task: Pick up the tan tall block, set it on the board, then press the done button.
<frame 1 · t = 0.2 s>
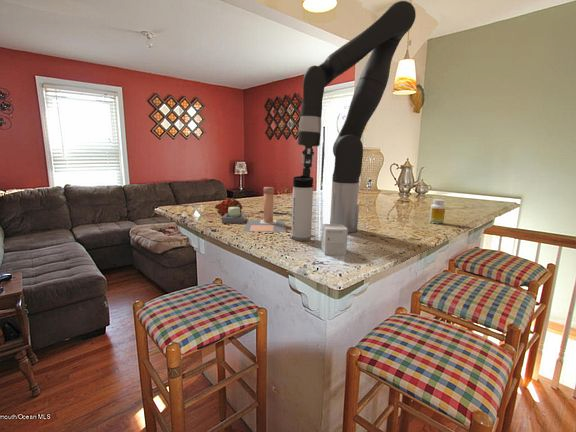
hand: (305, 179, 107), 18 cm above the countertop, tool pointing down, fingers open, 8 cm apart
button housing: (234, 223, 118), on the countertop
tan tall block: (268, 221, 117), point 1 cm above the countertop, touching board
board: (265, 228, 111), on the countertop
product box: (333, 252, 87), on the countertop
supplement bottle: (436, 223, 127), on the countertop
dragon fruit: (228, 216, 130), on the countertop
done button: (234, 213, 117), point 4 cm above the countertop, slide at 0.0 cm
travel mug: (301, 239, 99), on the countertop
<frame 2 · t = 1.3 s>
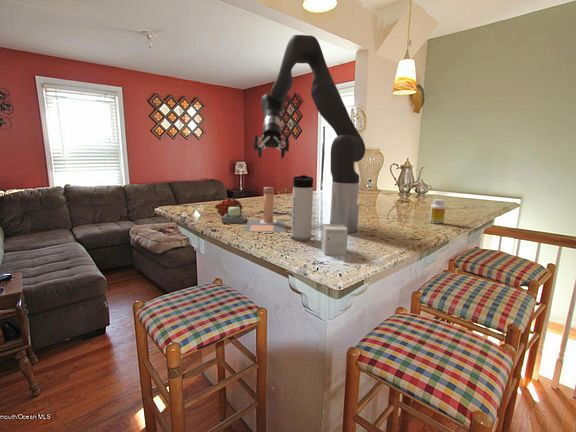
hand: (271, 156, 123), 25 cm above the countertop, tool tilted 45°, fingers open, 8 cm apart
nothing on the countertop moved.
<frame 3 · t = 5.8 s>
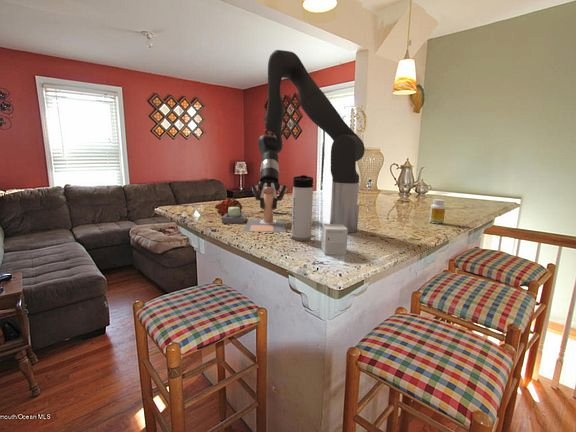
hand: (268, 208, 114), 7 cm above the countertop, tool tilted 45°, fingers closed on tan tall block, 3 cm apart
tan tall block: (268, 221, 117), point 1 cm above the countertop, touching board, gripper
everything else where it was.
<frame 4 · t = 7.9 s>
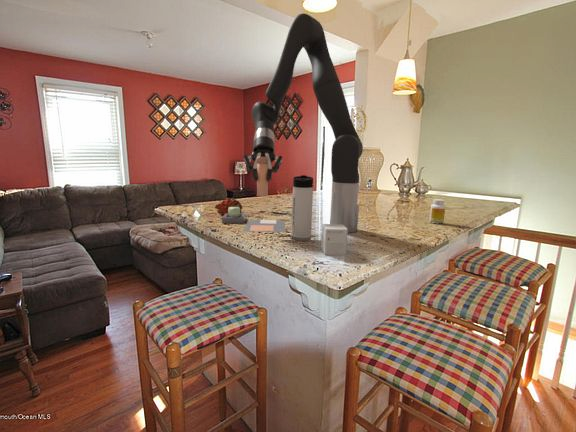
hand: (262, 179, 102), 18 cm above the countertop, tool tilted 45°, fingers closed on tan tall block, 3 cm apart
tan tall block: (262, 195, 105), point 12 cm above the countertop, touching gripper
everything else where it was.
when the fingers open (8 cm above the countertop, at t = 10.1 s): tan tall block drops 1 cm, resting on board.
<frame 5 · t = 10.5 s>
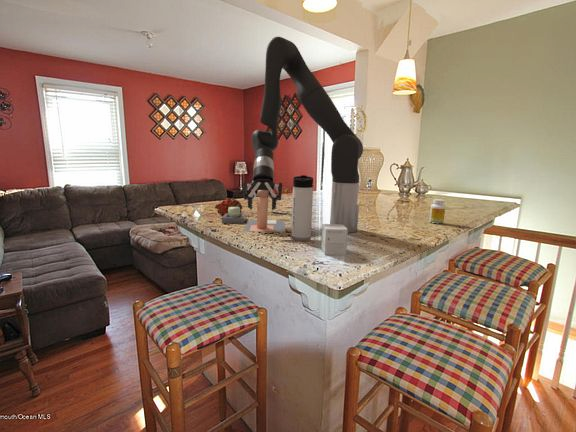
hand: (261, 208, 104), 8 cm above the countertop, tool tilted 45°, fingers open, 7 cm apart
tan tall block: (261, 227, 107), point 1 cm above the countertop, touching board
everything else where it was.
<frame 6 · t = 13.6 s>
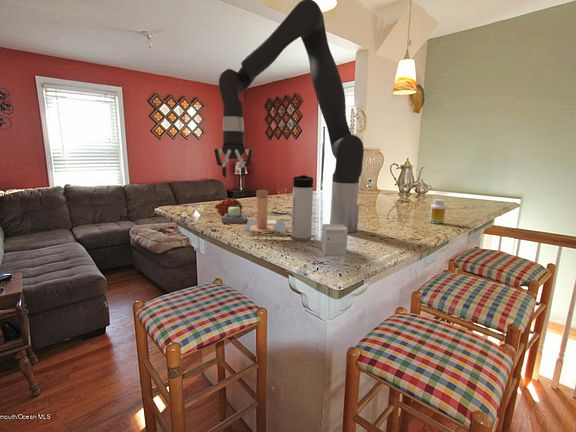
hand: (234, 177, 114), 17 cm above the countertop, tool pointing down, fingers open, 5 cm apart
nothing on the countertop moved.
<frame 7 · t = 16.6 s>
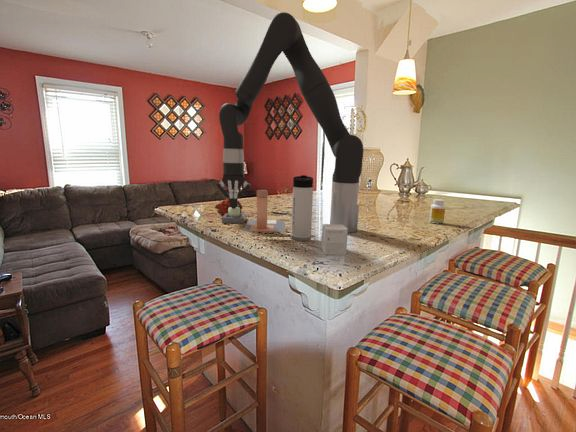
hand: (233, 208, 116), 6 cm above the countertop, tool pointing down, fingers closed
done button: (234, 213, 117), point 4 cm above the countertop, slide at 0.1 cm, touching gripper
everything else where it was.
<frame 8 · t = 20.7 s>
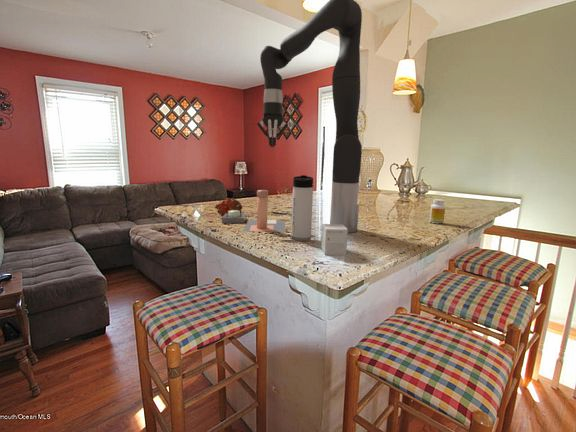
hand: (272, 147, 126), 29 cm above the countertop, tool pointing down, fingers closed
done button: (234, 216, 117), point 3 cm above the countertop, slide at 1.3 cm
everything else where it was.
at the end: tan tall block inside the target area on the board (0.1 cm from its centre), point 1.1 cm above the board's base; tan tall block tilted 0°; done button slide at 1.3 cm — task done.
